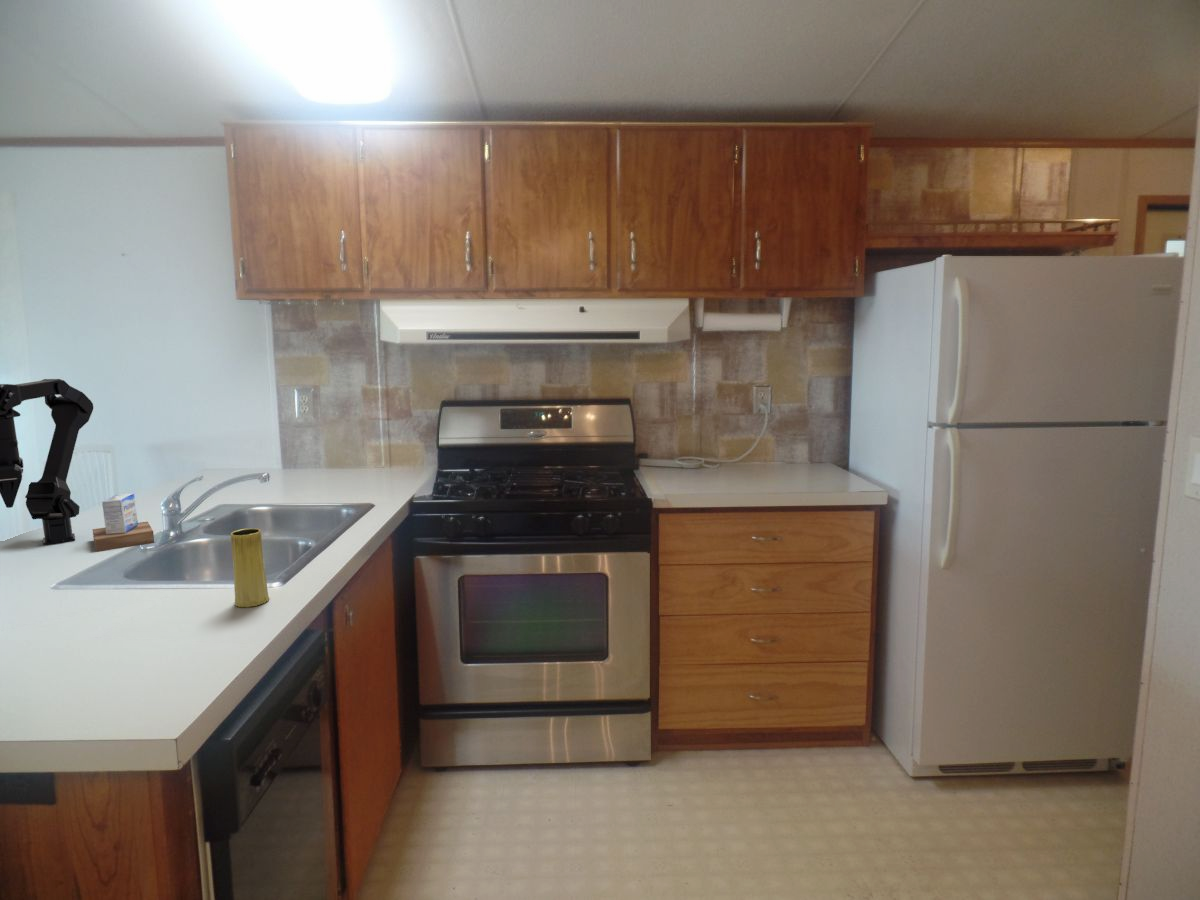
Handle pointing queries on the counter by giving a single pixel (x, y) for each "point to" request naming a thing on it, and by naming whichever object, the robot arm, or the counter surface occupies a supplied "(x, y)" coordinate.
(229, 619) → the counter surface
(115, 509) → the medicine box
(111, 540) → the block
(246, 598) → the vase
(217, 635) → the counter surface
